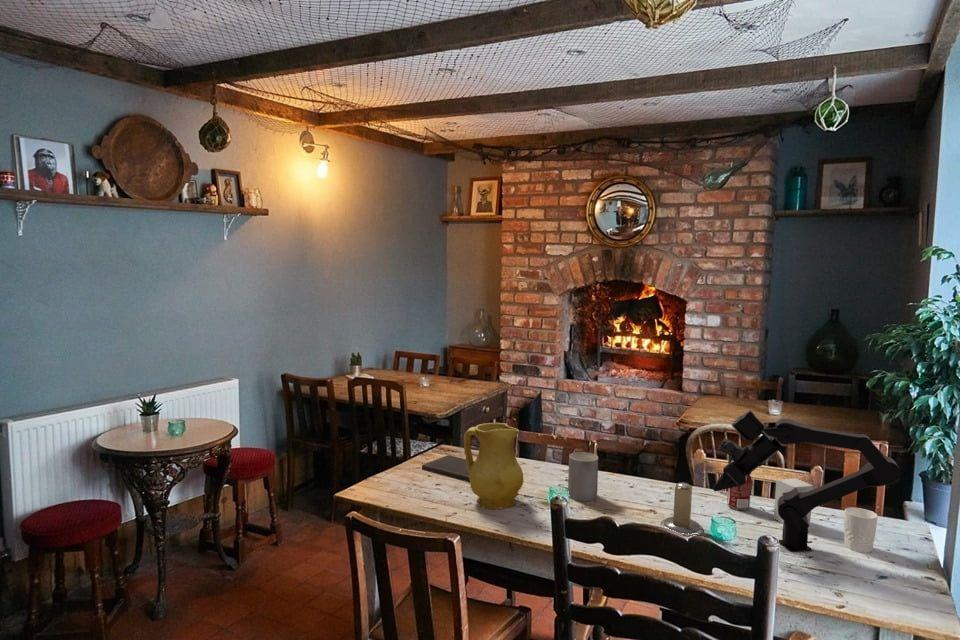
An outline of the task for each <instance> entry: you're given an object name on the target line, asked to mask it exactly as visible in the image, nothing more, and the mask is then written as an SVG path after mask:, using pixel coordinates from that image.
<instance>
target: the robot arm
mask: <svg viewBox="0 0 960 640" xmlns="http://www.w3.org/2000/svg"><path fill="white" fill-rule="evenodd" d="M731 427H732V428H734V430H735V431H736V432H737V433H738V434H739V435H740V436H741V437H742V438H743V439H744V440H745V441H751V442H752V443H751V444H749V445H746V446H744V447H743V446H741V445H739V444H737V443H736V442H734V441H732V440H730V439H728V438H726V437H724V438H723V439H722V441H721V443H720V444H719V446H718V448H717V449H718V451H720V452H721V453H725V454H727V455H728V456H730V458H729V459H728V463H727V464H726V465H725V466H724V467H723V468H722V469H723V470H722V471H723V472H722V474H721V476H719V478H718V479H717V481H716V484H715V485H714V486H713V487H712V490H713V491H714V492H719V491H723V490H728V488H733V487H739V486H742V485H743V484H744V483H746V481H747V475H748V476H749V475H750V476H751V474H752V473H753V472H754V471H755V470H757V468H759V467H762V466H763V464H764V463H766V461H768V460H769V459H770V458H772V457H773V456H774V455H775V454H777V453H778V452H779V453H780V454H781V455H782V456H784V457H786V455H787V452H786V451H787V448H788V447H787V444H792V445H794V444H797V445H798V444H815V445H817V444H818V445H822V446H830V447H836V448H842V449H848V450H853V451H859V452H860V453H861V454H862V455H863V457H864V458H866V460H867V461H868V462H867V463H865V464H864V465H862V467H861V468H860V469H859V470H857V471H855V472H853V473H849V474H848V475H845V476H843V477H840V478H838V479H835V480H833V481H830V482H828V483H825V484H823V485H820V486H818V487H816V488H813V490H810V491H808V492H798V490H797V488H795V489H793V490H791V491H790V492H786V493H783V496H781V497H780V498H779V500H778V502H777V505H778V514H779V516H780V517H781V519H783V520H784V524H783V525H782V537H781V538H782V539H778V540H779V542H780V543H779V545H781V546H783V547H784V548H785V549H787V550H788V551H790V552H811V551H813V548H811V547H810V546H809V545H808V538H809V527H810V526H809V522H808V517H807V514H808V513H809V512H810V511H811V512H812V511H813V510H814V509H815V508H818V507H820V506H823V505H825V504H827V503H831V502H832V501H835V500H837V499H841V498H843V497H846V496H848V495H851V494H853V493H856V492H858V491H860V490H863V489H866V488H873V487H874V488H875V487H883V486H889V485H894V484H896V483H898V482H899V481H900V480H901V476H902V471H901V468H900V467H899V465H898V464H897V463H896V461H895V460H894V458H891V457H889V456H886V455H884V454H883V452H882V451H881V450H880V449H879V448H878V446H876V445H875V444H874V443H873V441H872V440H871V439H870V437H869V436H868V435H867V434H863V433H859V434H858V433H851V432H845V431H837V430H831V429H825V428H819V427H813V426H809V425H807V424H804V423H801V422H799V421H796V420H793V419H789V418H780V419H779V420H777V421H774V422H773V421H771V422H762V420H760V419H759V417H757V416H756V415H755V413H754V412H753V411H752V410H748V411H747V412H745V413H744V414H742V415H740V416H738V417H737V418H736V419H734V421H733V422H732V423H731ZM754 440H755V441H754Z"/></svg>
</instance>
